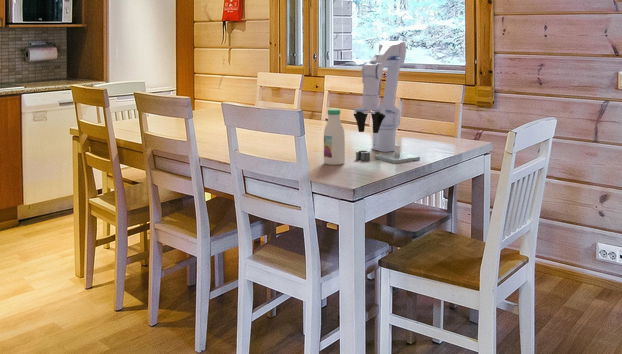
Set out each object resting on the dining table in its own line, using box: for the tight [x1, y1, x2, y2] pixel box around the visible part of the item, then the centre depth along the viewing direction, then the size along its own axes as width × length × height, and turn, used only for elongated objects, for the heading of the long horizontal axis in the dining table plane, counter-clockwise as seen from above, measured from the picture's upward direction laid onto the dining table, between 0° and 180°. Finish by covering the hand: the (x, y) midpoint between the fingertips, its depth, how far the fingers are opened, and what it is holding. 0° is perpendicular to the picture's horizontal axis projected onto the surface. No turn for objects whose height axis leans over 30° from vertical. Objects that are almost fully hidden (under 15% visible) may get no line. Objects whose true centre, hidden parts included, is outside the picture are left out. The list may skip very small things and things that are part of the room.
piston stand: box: [374, 144, 421, 164], centre depth 244 cm, size 12×12×5 cm
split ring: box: [355, 149, 371, 162], centre depth 245 cm, size 5×5×3 cm
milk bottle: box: [323, 108, 346, 166], centre depth 237 cm, size 8×8×20 cm
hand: (368, 132), depth 242 cm, fingers open, 7 cm apart
